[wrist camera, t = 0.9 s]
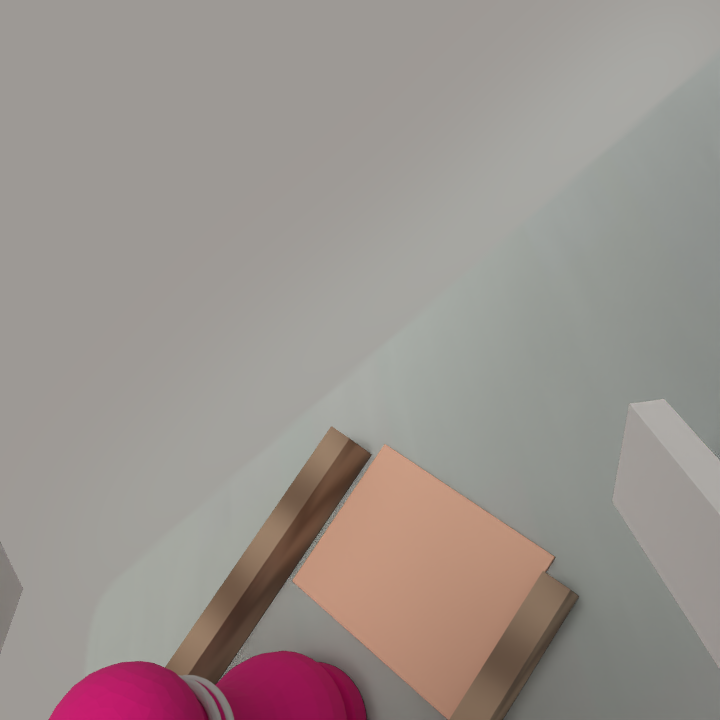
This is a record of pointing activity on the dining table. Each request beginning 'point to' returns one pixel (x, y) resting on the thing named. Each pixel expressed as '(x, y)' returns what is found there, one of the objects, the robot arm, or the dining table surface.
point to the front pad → (421, 577)
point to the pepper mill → (216, 693)
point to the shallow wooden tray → (287, 546)
